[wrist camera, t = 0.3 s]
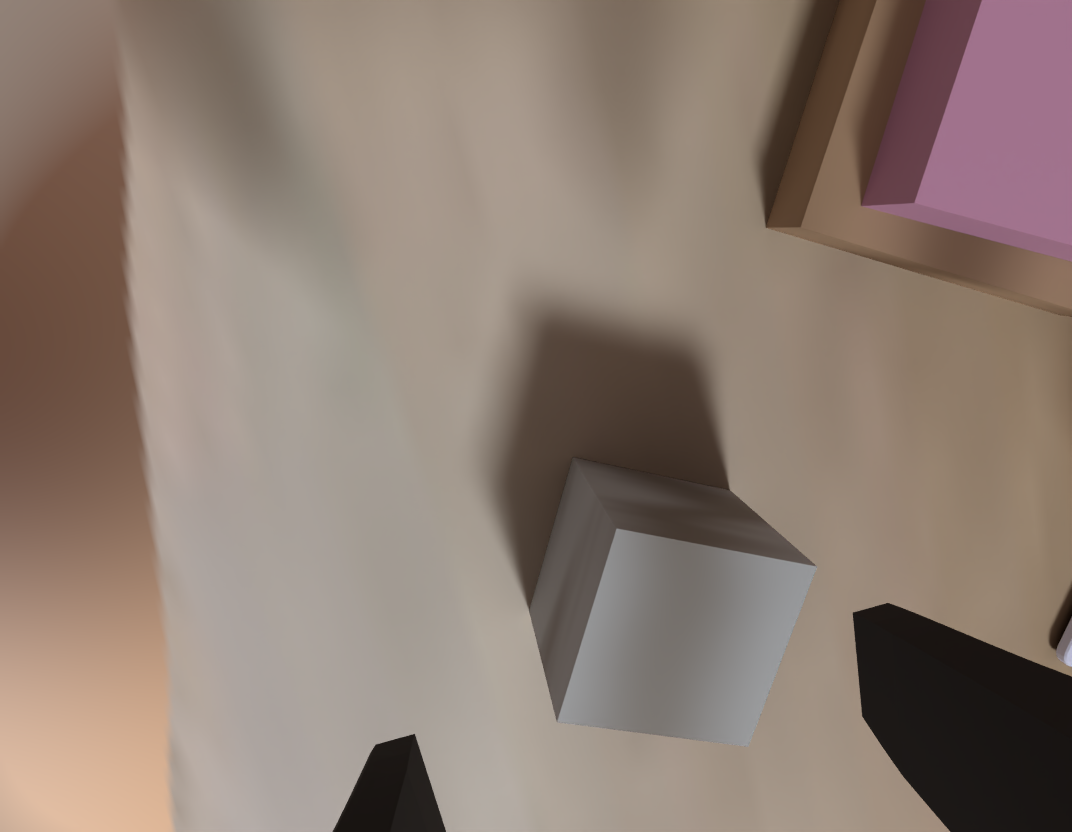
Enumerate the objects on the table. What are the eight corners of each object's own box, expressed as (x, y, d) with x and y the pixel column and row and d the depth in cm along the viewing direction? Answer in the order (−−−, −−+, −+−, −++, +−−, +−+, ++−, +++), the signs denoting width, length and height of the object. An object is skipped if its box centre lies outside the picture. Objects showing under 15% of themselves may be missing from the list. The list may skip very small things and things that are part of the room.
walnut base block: (1223, -116, 19) (1337, -166, 16) (1041, 312, 21) (1118, 323, 19) (913, -265, 17) (993, -348, 14) (755, 227, 19) (800, 227, 17)
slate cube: (728, 489, 21) (816, 566, 16) (679, 633, 22) (748, 746, 17) (572, 456, 20) (616, 528, 15) (528, 609, 21) (556, 722, 16)
